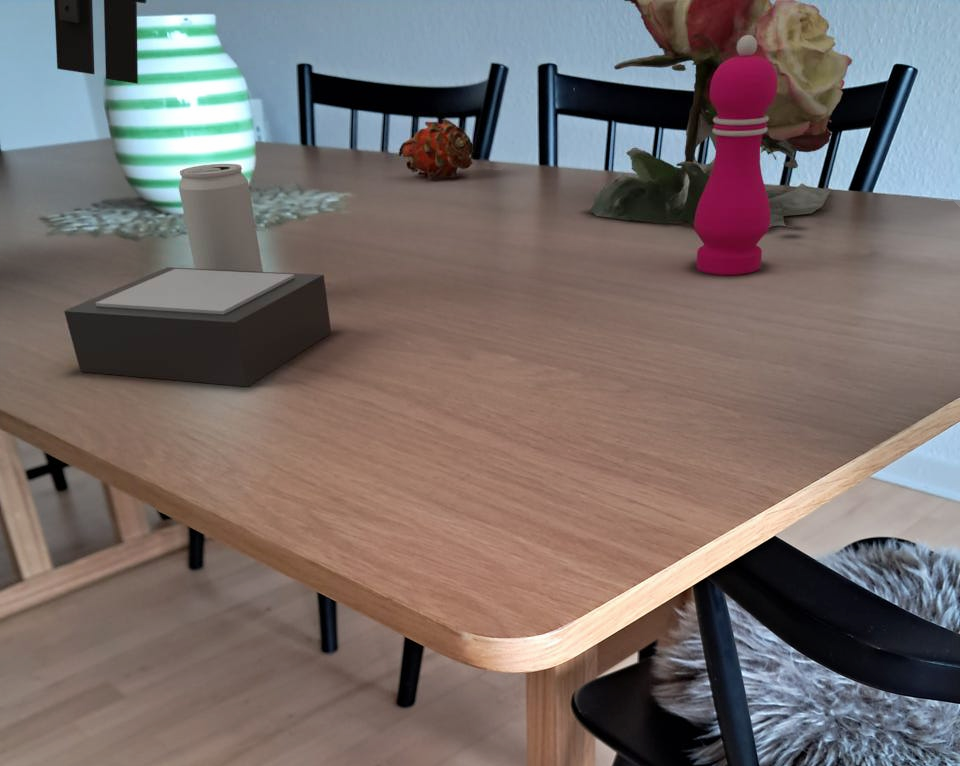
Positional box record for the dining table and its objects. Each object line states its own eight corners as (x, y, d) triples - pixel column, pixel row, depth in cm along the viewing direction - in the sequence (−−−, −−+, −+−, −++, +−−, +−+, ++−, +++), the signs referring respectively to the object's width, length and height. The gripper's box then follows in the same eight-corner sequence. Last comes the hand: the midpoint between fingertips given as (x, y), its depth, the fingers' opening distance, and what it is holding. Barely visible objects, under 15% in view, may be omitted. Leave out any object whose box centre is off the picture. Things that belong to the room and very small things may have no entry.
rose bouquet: (797, 238, 110) (838, -104, 93) (571, 216, 125) (571, -81, 108) (879, 196, 126) (927, -101, 110) (671, 181, 141) (684, -81, 125)
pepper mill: (727, 280, 97) (748, 38, 86) (676, 267, 102) (689, 37, 91) (780, 267, 100) (807, 32, 89) (728, 255, 105) (747, 31, 94)
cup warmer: (68, 370, 83) (50, 305, 80) (168, 322, 94) (155, 263, 91) (247, 386, 78) (235, 317, 75) (331, 333, 89) (323, 270, 86)
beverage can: (279, 297, 100) (259, 164, 93) (224, 312, 96) (198, 175, 89) (244, 287, 103) (221, 159, 97) (189, 301, 100) (162, 169, 93)
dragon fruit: (479, 190, 151) (407, 201, 156) (488, 146, 154) (417, 159, 159) (458, 145, 144) (384, 158, 149) (468, 100, 147) (395, 115, 151)
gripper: (93, -285, 68) (103, 74, 77) (177, -178, 90) (176, 90, 99) (-23, -306, 67) (1, 59, 76) (90, -193, 89) (98, 78, 98)
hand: (100, 77), depth 88 cm, fingers open, 13 cm apart
